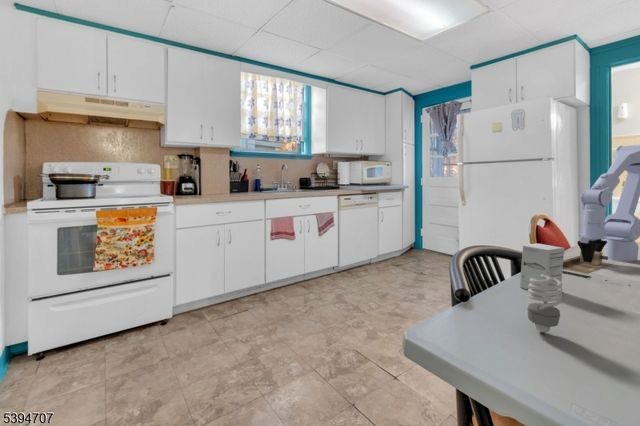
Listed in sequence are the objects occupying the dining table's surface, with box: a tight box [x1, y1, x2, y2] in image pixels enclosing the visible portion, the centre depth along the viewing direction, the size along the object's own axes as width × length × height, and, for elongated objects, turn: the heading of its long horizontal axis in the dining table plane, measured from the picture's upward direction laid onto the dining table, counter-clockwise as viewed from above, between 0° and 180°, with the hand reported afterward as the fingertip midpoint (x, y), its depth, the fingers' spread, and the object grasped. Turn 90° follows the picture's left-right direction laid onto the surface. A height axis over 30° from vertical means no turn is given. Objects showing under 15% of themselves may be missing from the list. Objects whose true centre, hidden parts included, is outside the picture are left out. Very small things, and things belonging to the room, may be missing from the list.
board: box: [562, 255, 614, 279], centre depth 111 cm, size 22×9×3 cm, turn 121°
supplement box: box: [519, 242, 565, 292], centre depth 90 cm, size 7×7×13 cm
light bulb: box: [527, 275, 563, 334], centre depth 64 cm, size 6×6×12 cm
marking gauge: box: [579, 251, 609, 265], centre depth 113 cm, size 4×7×4 cm, turn 31°
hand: (590, 260), depth 114 cm, fingers open, 5 cm apart
